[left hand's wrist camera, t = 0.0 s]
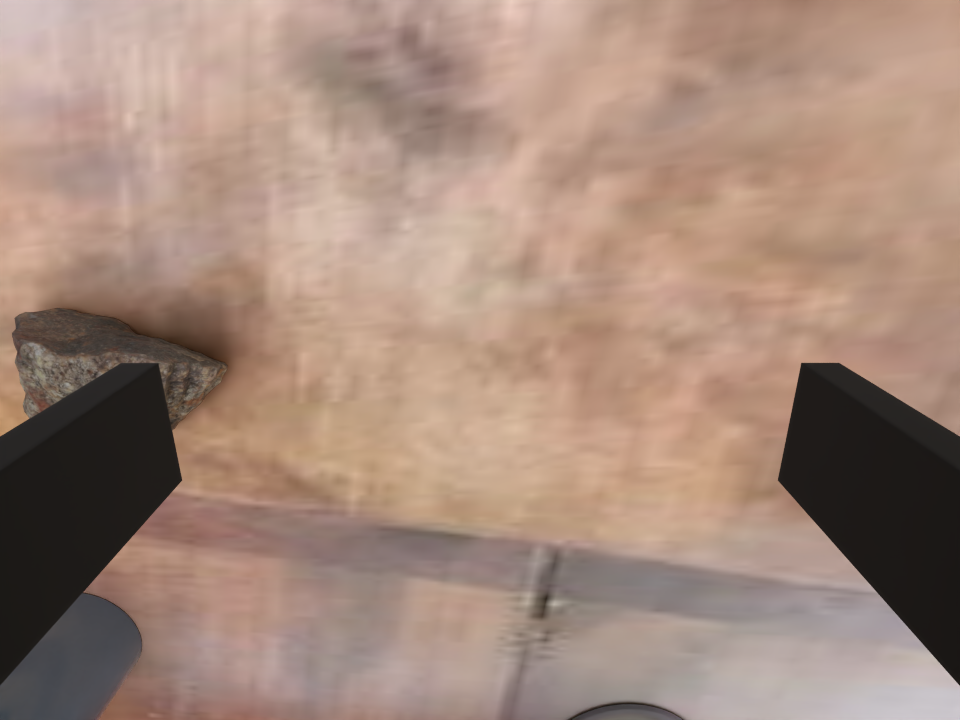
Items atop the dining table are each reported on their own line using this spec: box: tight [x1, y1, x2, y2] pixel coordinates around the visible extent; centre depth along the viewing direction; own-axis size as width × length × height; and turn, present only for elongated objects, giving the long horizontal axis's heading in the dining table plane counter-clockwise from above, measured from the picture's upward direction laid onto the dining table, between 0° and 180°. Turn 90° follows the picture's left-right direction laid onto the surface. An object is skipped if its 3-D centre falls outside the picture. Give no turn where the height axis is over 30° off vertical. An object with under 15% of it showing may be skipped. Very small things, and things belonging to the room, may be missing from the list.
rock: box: [12, 308, 228, 430], centre depth 38 cm, size 14×9×10 cm
